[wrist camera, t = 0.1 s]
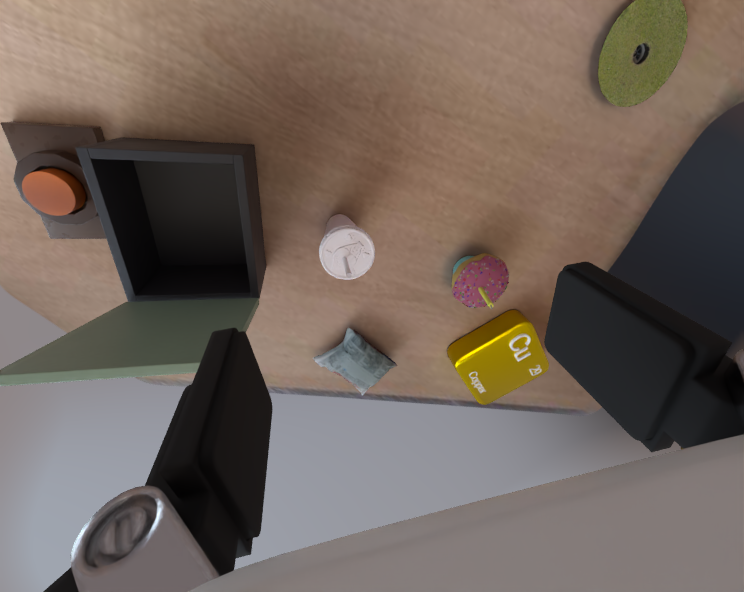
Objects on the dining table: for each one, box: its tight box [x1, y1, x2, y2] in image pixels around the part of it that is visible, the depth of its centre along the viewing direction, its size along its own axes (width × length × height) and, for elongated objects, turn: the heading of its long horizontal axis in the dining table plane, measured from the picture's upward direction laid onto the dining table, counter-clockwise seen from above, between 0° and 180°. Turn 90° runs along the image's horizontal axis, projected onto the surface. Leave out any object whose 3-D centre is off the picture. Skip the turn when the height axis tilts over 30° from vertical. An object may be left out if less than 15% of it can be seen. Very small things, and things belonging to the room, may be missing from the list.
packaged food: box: [313, 328, 397, 395], centre depth 55 cm, size 9×12×5 cm
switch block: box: [1, 122, 107, 239], centre depth 36 cm, size 12×8×4 cm, turn 176°
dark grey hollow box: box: [75, 138, 266, 302], centre depth 38 cm, size 16×14×9 cm
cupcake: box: [451, 253, 509, 309], centre depth 48 cm, size 9×8×12 cm
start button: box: [22, 168, 86, 216], centre depth 34 cm, size 4×4×2 cm
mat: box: [598, 0, 688, 107], centre depth 41 cm, size 11×11×2 cm
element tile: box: [447, 310, 549, 405], centre depth 61 cm, size 15×15×5 cm
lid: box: [0, 298, 259, 386], centre depth 30 cm, size 17×14×1 cm
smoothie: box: [319, 214, 375, 280], centre depth 40 cm, size 6×6×14 cm
